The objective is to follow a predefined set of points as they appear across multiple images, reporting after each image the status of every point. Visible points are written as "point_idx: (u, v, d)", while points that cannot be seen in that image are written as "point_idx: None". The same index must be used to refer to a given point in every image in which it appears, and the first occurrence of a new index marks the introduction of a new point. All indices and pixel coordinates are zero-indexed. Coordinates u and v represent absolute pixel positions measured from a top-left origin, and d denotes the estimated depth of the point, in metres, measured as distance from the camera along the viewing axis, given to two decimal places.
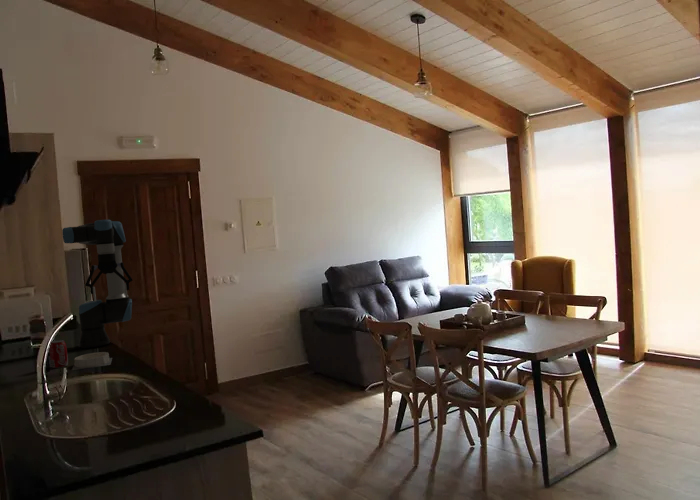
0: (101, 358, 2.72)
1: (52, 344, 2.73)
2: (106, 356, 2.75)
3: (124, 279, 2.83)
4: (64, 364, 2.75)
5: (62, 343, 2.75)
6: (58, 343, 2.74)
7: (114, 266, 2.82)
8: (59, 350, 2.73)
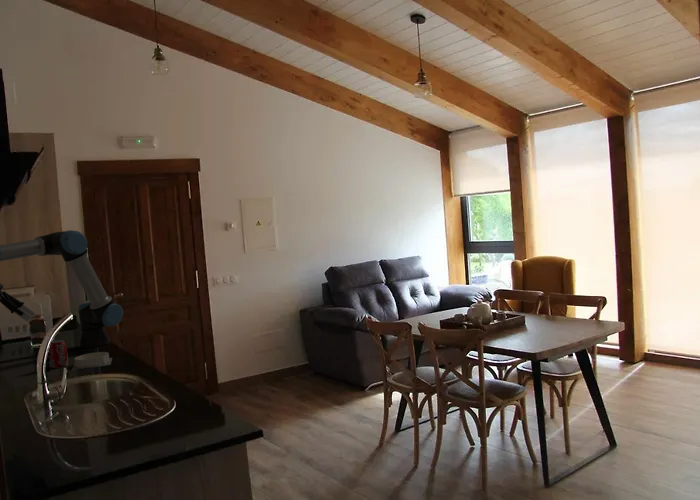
0: (101, 358, 2.72)
1: (52, 344, 2.73)
2: (106, 356, 2.75)
3: (10, 309, 2.63)
4: (64, 364, 2.75)
5: (62, 343, 2.75)
6: (58, 343, 2.74)
7: None
8: (59, 350, 2.73)
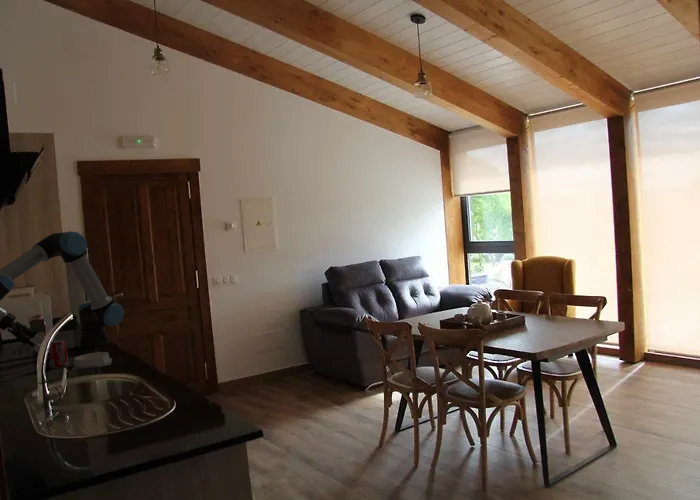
0: (101, 358, 2.72)
1: (52, 344, 2.73)
2: (106, 356, 2.75)
3: (22, 341, 2.65)
4: (64, 364, 2.75)
5: (62, 343, 2.75)
6: (58, 343, 2.74)
7: None
8: (59, 350, 2.73)
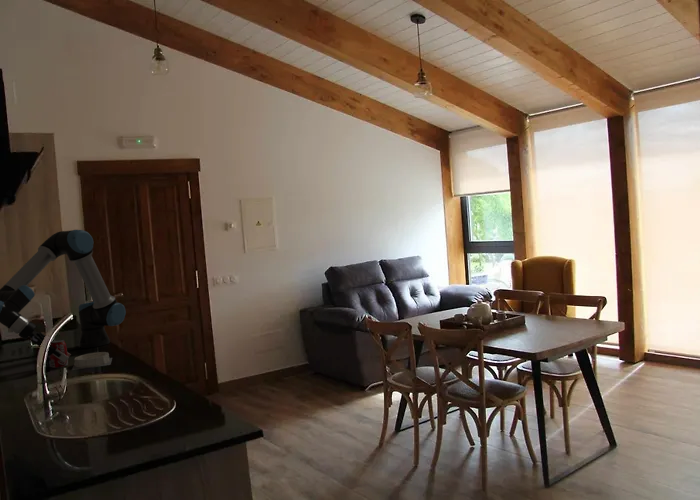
0: (101, 358, 2.72)
1: (52, 344, 2.73)
2: (106, 356, 2.75)
3: None
4: (64, 364, 2.75)
5: (62, 343, 2.75)
6: (58, 343, 2.74)
7: None
8: (59, 349, 2.73)
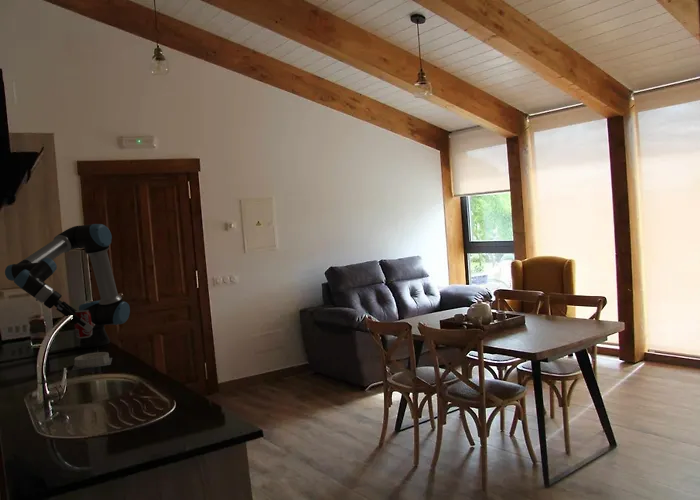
0: (101, 358, 2.72)
1: (77, 313, 2.72)
2: (106, 356, 2.75)
3: None
4: (88, 334, 2.74)
5: (86, 313, 2.74)
6: (83, 312, 2.72)
7: None
8: (83, 319, 2.72)
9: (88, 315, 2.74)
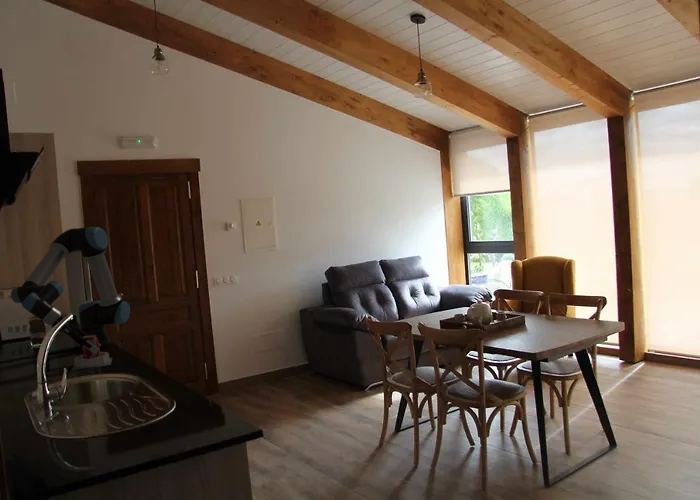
0: (101, 358, 2.72)
1: None
2: (106, 356, 2.75)
3: None
4: None
5: (94, 338, 2.75)
6: (90, 338, 2.74)
7: None
8: None
9: (96, 340, 2.75)
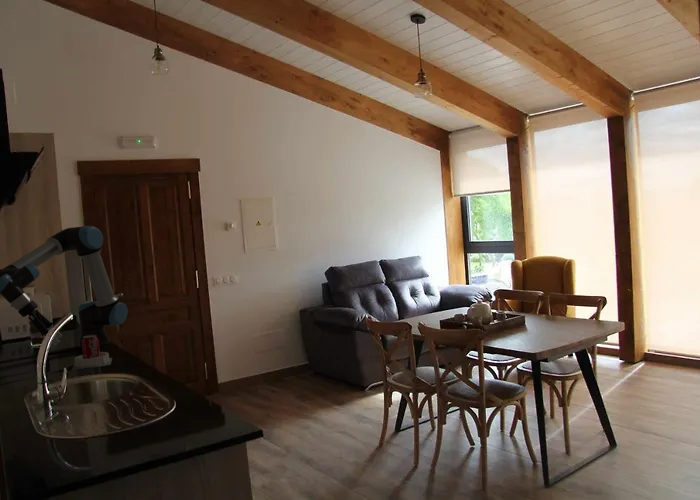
0: (101, 358, 2.72)
1: (85, 339, 2.73)
2: (106, 356, 2.75)
3: None
4: None
5: (94, 338, 2.75)
6: (91, 338, 2.74)
7: None
8: (91, 345, 2.73)
9: (96, 340, 2.75)
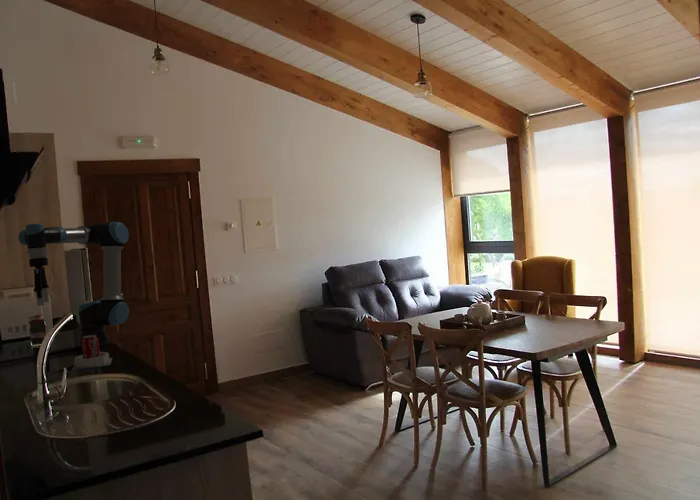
0: (101, 358, 2.72)
1: (84, 339, 2.73)
2: (106, 356, 2.75)
3: None
4: None
5: (94, 338, 2.75)
6: (90, 338, 2.74)
7: None
8: (91, 345, 2.73)
9: (96, 340, 2.75)
